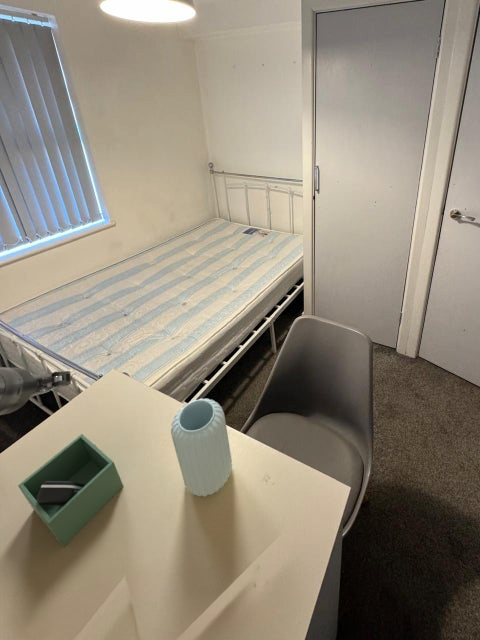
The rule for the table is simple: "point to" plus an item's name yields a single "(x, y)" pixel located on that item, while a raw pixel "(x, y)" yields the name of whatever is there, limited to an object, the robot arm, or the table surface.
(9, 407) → the robot arm
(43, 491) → the battery charger
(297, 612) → the table surface
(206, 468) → the vase
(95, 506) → the bin
